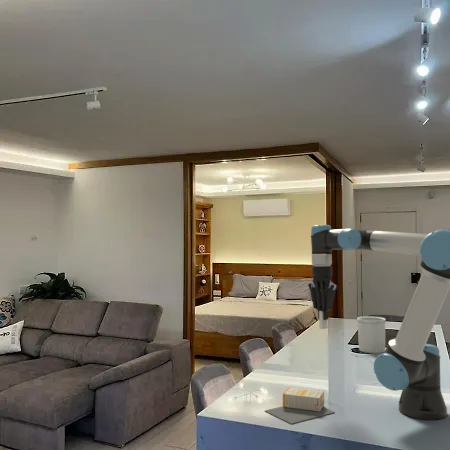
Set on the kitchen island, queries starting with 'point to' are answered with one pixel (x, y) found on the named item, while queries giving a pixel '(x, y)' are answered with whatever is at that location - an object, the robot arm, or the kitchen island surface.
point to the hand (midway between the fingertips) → (323, 328)
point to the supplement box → (303, 399)
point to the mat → (297, 414)
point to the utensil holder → (371, 334)
